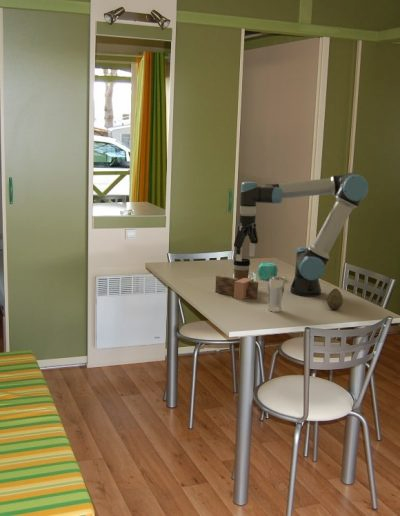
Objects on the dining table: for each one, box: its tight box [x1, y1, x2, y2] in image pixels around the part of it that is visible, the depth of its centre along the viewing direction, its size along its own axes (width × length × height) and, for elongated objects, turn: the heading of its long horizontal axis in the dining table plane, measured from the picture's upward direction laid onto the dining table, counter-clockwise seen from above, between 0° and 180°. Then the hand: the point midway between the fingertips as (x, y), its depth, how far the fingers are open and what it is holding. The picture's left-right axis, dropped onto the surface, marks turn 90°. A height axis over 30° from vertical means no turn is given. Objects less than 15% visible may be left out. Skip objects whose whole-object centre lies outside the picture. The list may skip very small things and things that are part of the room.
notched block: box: [233, 277, 254, 300], centre depth 333 cm, size 10×5×8 cm, turn 149°
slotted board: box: [214, 274, 259, 300], centre depth 335 cm, size 22×2×8 cm, turn 59°
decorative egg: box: [326, 288, 344, 311], centre depth 315 cm, size 7×7×10 cm
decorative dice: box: [257, 262, 279, 281], centre depth 373 cm, size 8×8×8 cm
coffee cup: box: [233, 258, 251, 280], centre depth 348 cm, size 8×8×15 cm
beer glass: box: [267, 276, 285, 313], centre depth 309 cm, size 7×7×15 cm
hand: (245, 258), depth 330 cm, fingers open, 13 cm apart
